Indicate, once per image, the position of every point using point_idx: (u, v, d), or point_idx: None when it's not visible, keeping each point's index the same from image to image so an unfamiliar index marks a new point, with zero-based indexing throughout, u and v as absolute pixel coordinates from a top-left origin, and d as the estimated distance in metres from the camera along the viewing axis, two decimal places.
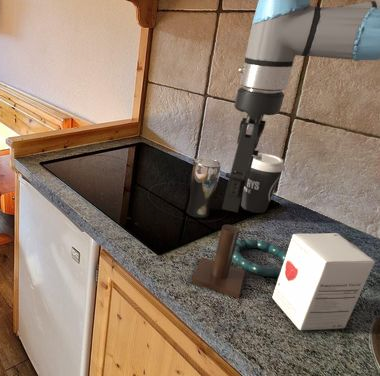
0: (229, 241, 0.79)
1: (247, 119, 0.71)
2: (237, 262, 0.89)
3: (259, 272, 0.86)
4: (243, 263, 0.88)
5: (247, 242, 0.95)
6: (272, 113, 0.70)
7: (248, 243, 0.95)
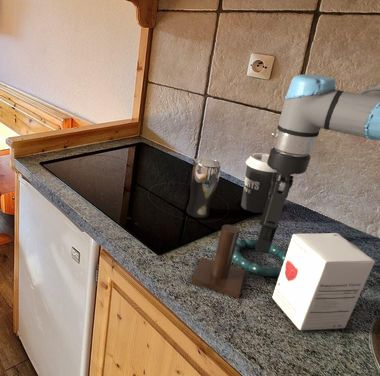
0: (229, 241, 0.79)
1: (279, 176, 0.85)
2: (237, 262, 0.89)
3: (259, 272, 0.86)
4: (243, 263, 0.88)
5: (247, 242, 0.95)
6: (300, 172, 0.83)
7: (248, 243, 0.95)
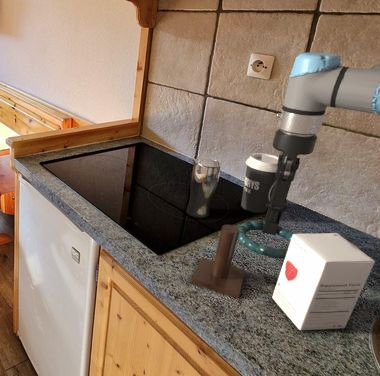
0: (229, 241, 0.79)
1: (285, 158, 0.83)
2: (244, 244, 0.87)
3: (267, 253, 0.83)
4: (250, 245, 0.85)
5: (253, 224, 0.93)
6: (307, 153, 0.82)
7: (254, 225, 0.93)
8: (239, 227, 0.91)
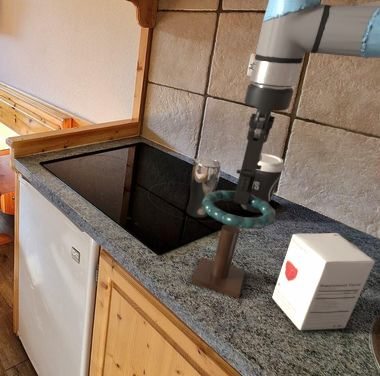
0: (229, 241, 0.79)
1: (257, 114, 0.73)
2: (210, 213, 0.77)
3: (234, 223, 0.74)
4: (216, 214, 0.76)
5: (223, 193, 0.83)
6: (281, 109, 0.72)
7: (224, 194, 0.83)
8: (207, 196, 0.81)
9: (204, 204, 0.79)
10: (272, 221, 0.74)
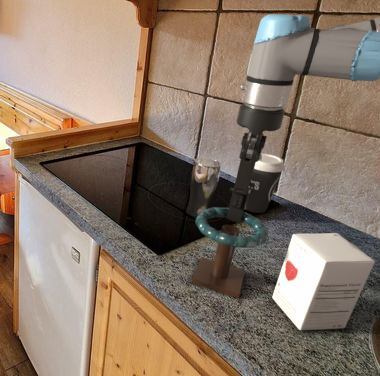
0: None
1: (249, 135, 0.74)
2: (203, 232, 0.78)
3: (227, 242, 0.74)
4: (210, 233, 0.76)
5: (217, 210, 0.84)
6: (273, 129, 0.72)
7: (218, 211, 0.84)
8: (200, 213, 0.82)
9: (198, 222, 0.80)
10: (265, 240, 0.75)
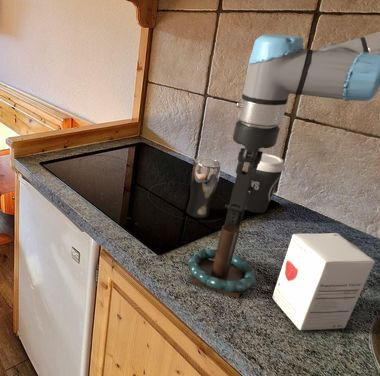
0: (229, 241, 0.79)
1: (244, 152, 0.76)
2: (195, 275, 0.82)
3: (218, 286, 0.79)
4: (201, 277, 0.81)
5: (208, 252, 0.88)
6: (268, 146, 0.74)
7: (209, 253, 0.88)
8: (192, 256, 0.87)
9: (190, 265, 0.84)
10: (253, 284, 0.80)
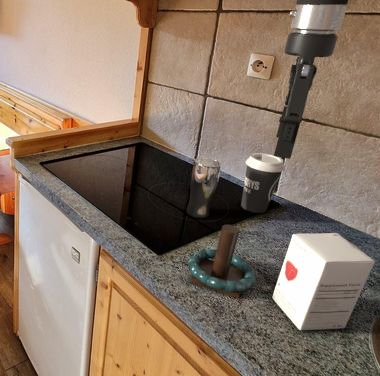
0: (229, 241, 0.79)
1: (300, 62, 0.71)
2: (195, 275, 0.82)
3: (218, 286, 0.79)
4: (201, 277, 0.81)
5: (208, 252, 0.88)
6: (326, 55, 0.69)
7: (209, 253, 0.88)
8: (192, 256, 0.87)
9: (190, 265, 0.84)
10: (253, 284, 0.80)
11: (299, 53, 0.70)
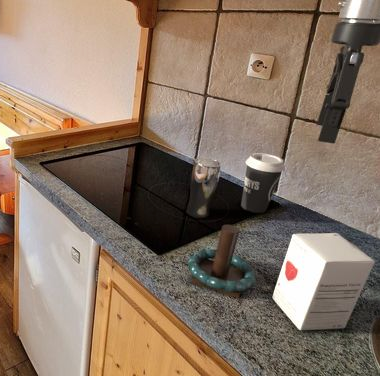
0: (229, 241, 0.79)
1: (348, 50, 0.74)
2: (195, 275, 0.82)
3: (218, 286, 0.79)
4: (201, 277, 0.81)
5: (208, 252, 0.88)
6: (374, 43, 0.72)
7: (209, 253, 0.88)
8: (192, 256, 0.87)
9: (190, 265, 0.84)
10: (253, 284, 0.80)
11: (347, 42, 0.73)
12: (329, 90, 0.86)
